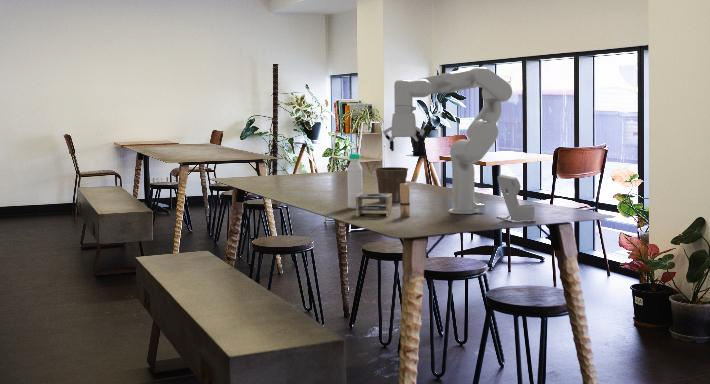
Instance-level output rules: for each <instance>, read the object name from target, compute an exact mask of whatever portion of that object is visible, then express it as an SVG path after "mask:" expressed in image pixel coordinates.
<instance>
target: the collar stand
mask: <svg viewBox="0 0 710 384" xmlns="http://www.w3.org/2000/svg"><path fill="white" fill-rule="evenodd" d="M379 199H386V203H385V204H364V200H379ZM365 211H366V212H368V211H369V212H370V211H371V212H385V214H386V218H387V217H388V218H389V217H390V216H391V215H392V213H393V203H392V194H379V193H363V194H359V195H358V196H356V209H355V216H356V217H360V216H361V215H362V214H364V212H365Z"/></svg>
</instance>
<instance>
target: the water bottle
mask: <svg viewBox="0 0 710 384" xmlns="http://www.w3.org/2000/svg"><path fill="white" fill-rule="evenodd" d="M360 156H361V155H360V154H359V153H350V154H349V157H348V158H349V161H350V162H349V164H348V166H347V170H346V172H347V208H348V209H352V210H353V209H355V210H356V196H358V195H359V194H364V193H363V187H364V184H363V183H364V182H363V181H364V179H363V177H364V176H363V167H362V165H361V163H360V158H361V157H360Z"/></svg>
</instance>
